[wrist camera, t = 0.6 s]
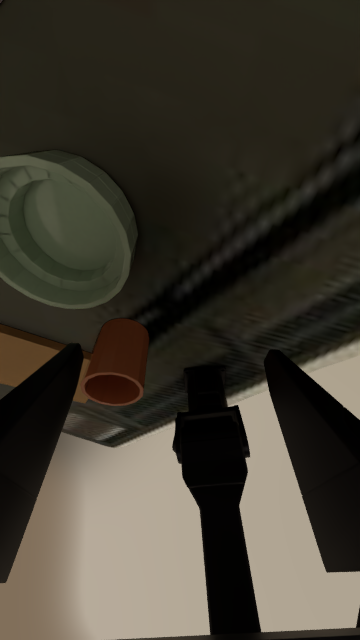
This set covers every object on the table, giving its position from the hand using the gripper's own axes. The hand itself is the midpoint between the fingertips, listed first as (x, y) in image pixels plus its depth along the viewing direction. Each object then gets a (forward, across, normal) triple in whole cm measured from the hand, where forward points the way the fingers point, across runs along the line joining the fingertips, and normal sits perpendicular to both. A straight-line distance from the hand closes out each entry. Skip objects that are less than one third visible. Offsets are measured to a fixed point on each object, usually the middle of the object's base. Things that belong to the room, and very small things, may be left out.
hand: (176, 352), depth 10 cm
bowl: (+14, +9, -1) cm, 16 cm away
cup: (+14, +6, +13) cm, 20 cm away
